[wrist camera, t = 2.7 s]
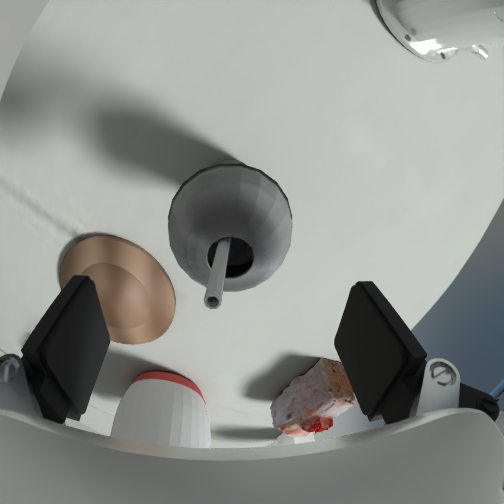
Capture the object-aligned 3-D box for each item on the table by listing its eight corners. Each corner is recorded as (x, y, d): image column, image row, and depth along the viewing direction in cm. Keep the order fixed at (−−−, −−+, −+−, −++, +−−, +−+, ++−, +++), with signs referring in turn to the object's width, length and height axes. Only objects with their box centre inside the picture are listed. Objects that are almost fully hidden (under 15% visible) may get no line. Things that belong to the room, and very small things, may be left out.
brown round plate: (170, 236, 28) (168, 240, 27) (181, 343, 35) (180, 349, 34) (51, 234, 26) (46, 238, 25) (81, 332, 34) (78, 337, 33)
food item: (299, 404, 46) (309, 448, 37) (264, 398, 43) (271, 445, 34) (348, 363, 41) (367, 410, 32) (313, 352, 38) (330, 406, 30)
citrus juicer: (119, 399, 42) (101, 488, 24) (129, 348, 35) (97, 470, 18) (195, 420, 46) (193, 509, 28) (226, 377, 39) (231, 497, 22)
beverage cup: (214, 228, 28) (198, 407, 10) (179, 167, 25) (74, 285, 7) (279, 197, 27) (363, 350, 9) (247, 132, 24) (300, 165, 6)
